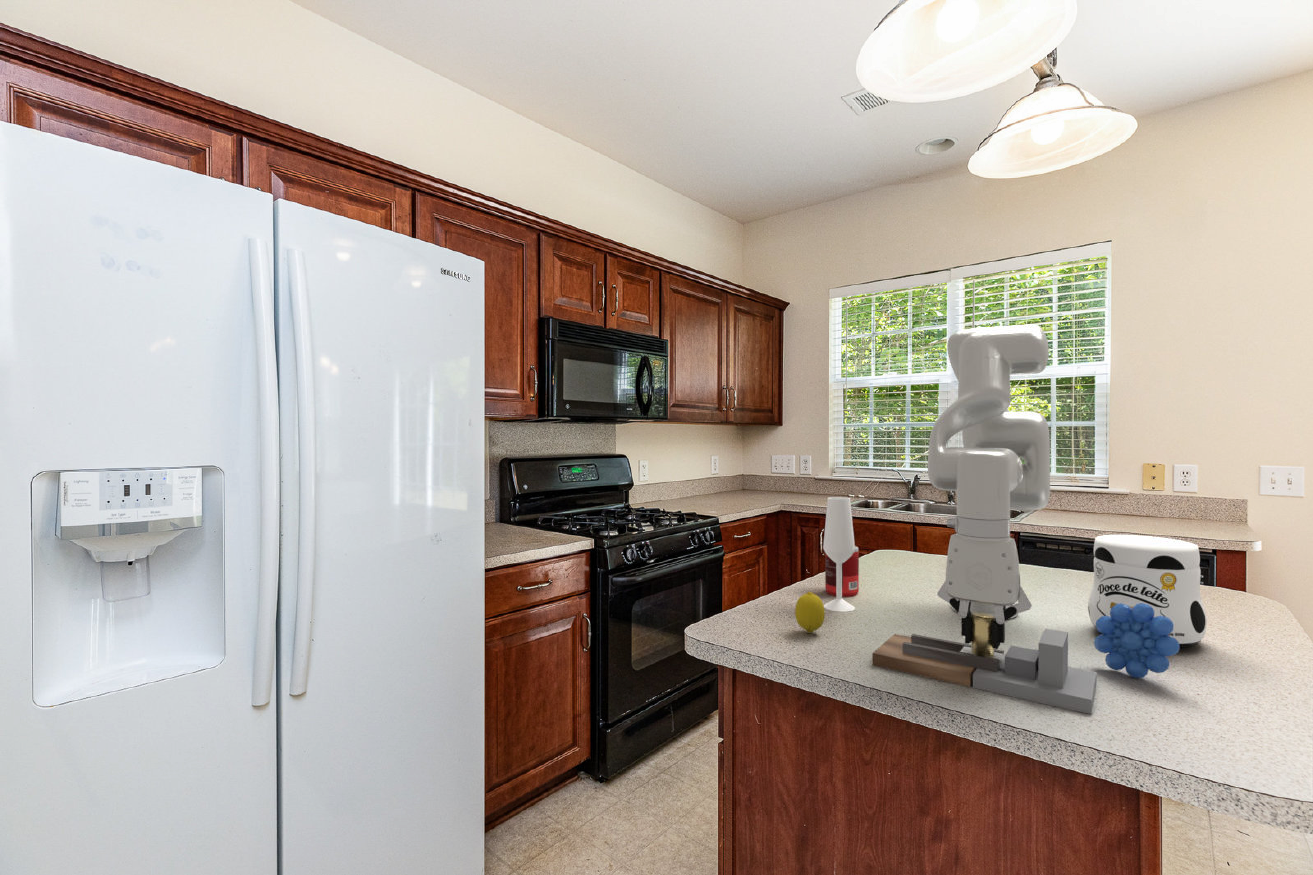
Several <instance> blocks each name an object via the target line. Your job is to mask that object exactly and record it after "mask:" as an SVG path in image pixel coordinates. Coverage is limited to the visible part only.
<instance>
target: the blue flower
mask: <svg viewBox="0 0 1313 875" xmlns="http://www.w3.org/2000/svg"><path fill="white" fill-rule="evenodd" d="M1154 614H1155V613H1154V610H1153V608H1152V607H1151V606H1150V605H1148V604H1144V603H1140V604H1137V605H1135V606H1134V607H1133V608H1132V610H1131V608H1130V607H1129V606H1128V605H1125V604H1121V603H1120V604H1116V605H1115V606H1113V607H1112V608H1111V610H1110V615H1111V617H1109V616H1102V617H1100V618H1099V619H1098V620H1097V621H1096V627H1095V629H1096V630H1097V631H1098V632H1099V633H1100V634H1098V636H1097V637H1095V638H1094V641H1093V644H1094V646H1093V647H1095V649H1096V650H1097V651H1098V652H1099V653H1102V654H1106V655H1105V659H1104V660H1105V664H1106V665H1107V667H1109V668H1110V669H1111V670H1114V671H1121V670H1123V669H1125V672H1126V674H1127V675H1129V676H1130V677H1131V678H1135V679H1143V678H1145V677H1146V676H1147V675H1148V674H1149V671H1150V672H1152V673H1155V674H1162V673H1165V672H1166V671H1167V670H1168V669H1170V668H1169V667H1170V660H1169V658H1168V657H1173V656H1174V655H1176V654H1177V653H1179V652H1180V648H1181V647H1180V645H1179V642H1178V641H1177V640H1176V639H1175V638H1173V637H1170V636H1167V635H1168V634H1170V633H1171V632H1172V631H1173V627H1174V626H1173V623H1172V621H1171V620H1170V619H1169V618H1167V617H1164V616H1156V617H1154Z"/></svg>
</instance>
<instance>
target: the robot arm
mask: <svg viewBox="0 0 1313 875" xmlns="http://www.w3.org/2000/svg"><path fill="white" fill-rule="evenodd" d="M946 345H947V348H946V349H947V355H948V360H949V363H950V366H951V368H952V371H953V373H954V375H955V377H956V379H957V383H958V384H957V385H958V386H957V399H956V401H954V402H953V403H951V405H949V406H948V407H947V408H946V409H945V410H944V411H943V412H942V413H941V414H940V415H939V417H938V418H937V420H936V421H935V423H934V424H933V426H932V428H931V432H930V435H929V441H928V454H927V455H928V456H927V476H928V479H929V482H930V484H931V485H932V487H934V488H936V489H938V490H941V491H947V492H950V491H951V492H952V491H953V492H955V495H956V515H955V517H952V518H947V519H946V527H948V528H953V529H954V530H955V533H954V534H951V535H950V539H949V544H948V548H947V555H946V556H947V557H946V567H945V568H946V569H945V580H944V582H943V583H942V586H940V588H939V589H938V591H937V594H936V595H937V597H939V598H940V599H942V600H943V601H944V602H946V603H948V604H949V605H950V606H951V609H952V610H954V611H955V612H957V614H958V616H959V617H960V620H961V622H960V624H961V625H960V628H961V630H960V633H961V635H960V636H962V637H964V643H965V644H971V614H973V613H985V614H989V615H992V616H994V622H993V623H992V647H993V648H994V649H997V650H999V648H1000V646H1001V644H1004V643H1005V640H1006V638H1005V637H1006V630H1005V628H1006V626H1005V625H1006V622H1007V621H1009V620H1011V619H1014V618H1017V617H1018V616H1019V614H1021V613H1024V612H1026V611H1029V610H1031V608H1032V606H1033V604H1032V602H1031V601H1030V599H1029V598H1028V596H1027V595H1026V593H1025V590H1024V589H1023V588H1022V586H1021V573H1020V572H1021V571H1020V561H1019V555H1018V554H1019V553H1018V549H1017V544H1016V541H1015V538H1013V537H1011V510H1017V511H1018V510H1019V511H1038V510H1039V511H1040V510H1042V509H1044V508H1046V507H1047V505H1048V504H1049V502H1050V497H1051V455H1050V454H1051V445H1050V444H1051V442H1050V441H1051V440H1050V438H1051V437H1050V427H1049V424H1048V422H1047V419H1046V417H1045V416H1044V415H1042V414H1041V413H1039V412H1036V411H1031V410H1030V411H1028V410H1027V411H1024V410H1023V411H1009V406H1010V405H1011V399H1012V398H1011V397H1012V396H1011V395H1012V394H1011V376H1012V375H1031V374H1032V375H1034V374H1036V375H1037V374H1040V373H1042V372H1043V371H1044V370H1045V369H1046V367H1047V364H1048V361H1049V354H1050V353H1049V352H1050V351H1049V342H1048V338H1047V335H1046V333H1045V331H1044V330H1043V329H1042V327H1041V326H1039V324H1019V325H1009V326H1008V325H1007V326H1006V325H1003V326H1002V325H1001V326H987V327H976V328H975V327H972V328H968V329H963V330H959V331H956V332H954V333H953V334H951V335H950V336H949V337H948V339H947V344H946ZM960 432H962V433H961V435H962V436H961V437H962V438H961V439H962V446H963V447H962V446H961V447H959V446H958V447H957V446H956V447H955V446H954V447H953V446H951V447H949V446H947V443H948V442H949V440H950V439H951V438H952V437H954V436H955V435H956V434H958V433H960ZM1022 460H1024V463H1023V461H1022Z"/></svg>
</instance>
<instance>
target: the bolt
mask: <svg viewBox="0 0 1313 875" xmlns="http://www.w3.org/2000/svg"><path fill="white" fill-rule="evenodd" d="M993 622H994V616H992V615H989V614H985V613H973V614H971V643H970V645H971V648H970V647H965V646H964V647H963V648H962V650H961V651H960V653H964V654H969V655H975V656H980V657H985V658H990V659H995V660H998V669H1002V670H1005V655H1006V654H1005V653H1004V654H1002V653H997V652H994V648H993V647H992V623H993Z"/></svg>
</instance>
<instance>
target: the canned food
mask: <svg viewBox="0 0 1313 875" xmlns="http://www.w3.org/2000/svg"><path fill="white" fill-rule="evenodd" d="M859 553H860V552H859V547H858V546H856V545H855V551H854V553H853V554H852V556H851V557H850V558H849V559H848V560H846V561H845V562H844V563H842V598H850V597H855V596H857V595H858V594H859V590H860V587H859V586H860V585H859V581H860V580H859V579H860V574H859V572H860V571H859V566H860V565H859V559H860V557H859V556H860V554H859ZM824 563H825V564H824V570H825V571H824V576H825V578H824V580H825V582H824V583H825V585H824V586H825V587H824V588H825V592H826V593H827V594H828V595H831V596H833V597H836V563H835V562H834V561H833V560H832V559H831V558H830V557H829V556H828V555H827V554H826V553H825V552H824Z"/></svg>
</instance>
